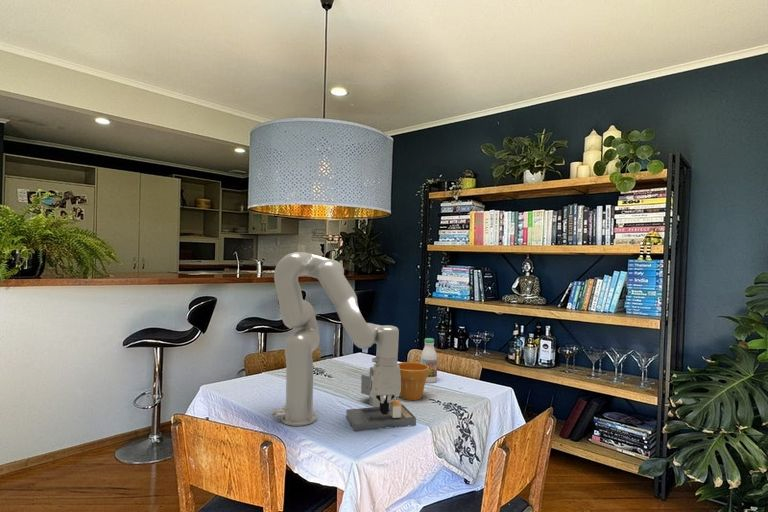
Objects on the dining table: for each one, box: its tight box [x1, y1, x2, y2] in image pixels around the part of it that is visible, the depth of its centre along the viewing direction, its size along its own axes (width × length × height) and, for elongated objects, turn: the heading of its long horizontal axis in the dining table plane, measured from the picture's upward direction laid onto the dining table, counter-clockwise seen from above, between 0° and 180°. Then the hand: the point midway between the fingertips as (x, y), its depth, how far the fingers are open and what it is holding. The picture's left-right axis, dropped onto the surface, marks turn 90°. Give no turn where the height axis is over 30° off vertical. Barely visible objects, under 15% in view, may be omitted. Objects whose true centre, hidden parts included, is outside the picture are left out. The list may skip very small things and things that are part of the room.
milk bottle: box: [420, 337, 438, 384], centre depth 210 cm, size 8×8×20 cm
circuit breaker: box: [360, 365, 398, 407], centre depth 178 cm, size 8×14×15 cm, turn 51°
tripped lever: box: [389, 399, 402, 418], centre depth 157 cm, size 3×4×5 cm
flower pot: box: [397, 361, 429, 401], centre depth 186 cm, size 14×14×13 cm
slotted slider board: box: [345, 404, 417, 432], centre depth 159 cm, size 22×14×3 cm, turn 107°
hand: (383, 413), depth 156 cm, fingers closed
